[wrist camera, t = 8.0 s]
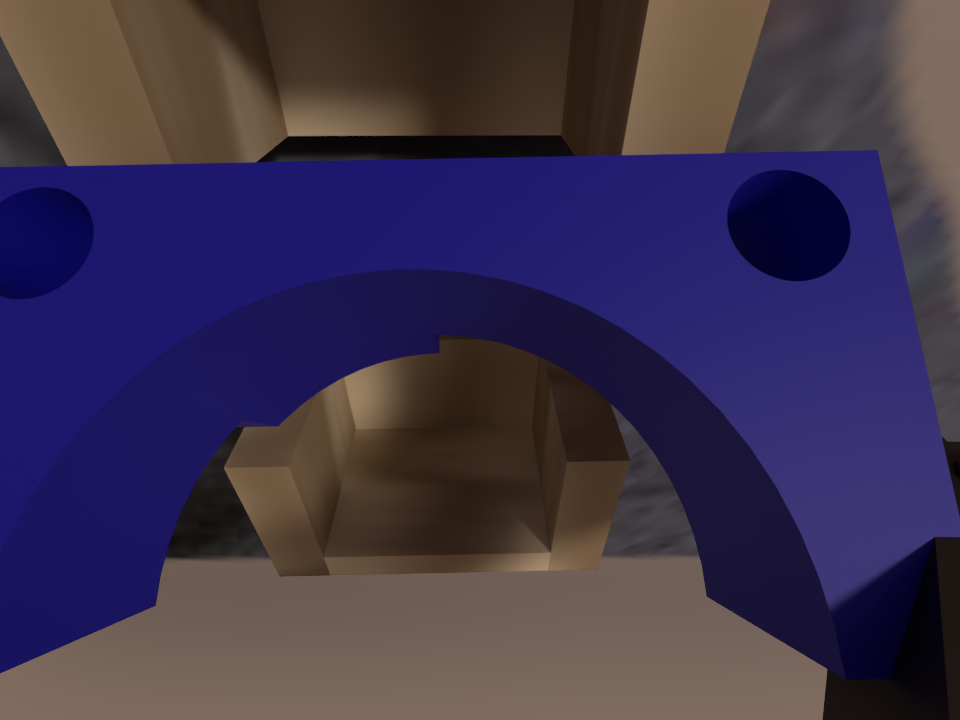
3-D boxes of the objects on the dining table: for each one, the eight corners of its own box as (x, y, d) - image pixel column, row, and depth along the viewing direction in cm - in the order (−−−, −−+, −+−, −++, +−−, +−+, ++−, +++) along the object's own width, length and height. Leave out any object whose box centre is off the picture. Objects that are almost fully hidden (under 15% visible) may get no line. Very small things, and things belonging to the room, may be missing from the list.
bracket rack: (326, 428, 19) (279, 576, 14) (158, -163, 9) (-196, -343, 4) (564, 425, 19) (597, 569, 14) (658, -159, 9) (868, -325, 4)
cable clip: (169, 292, 10) (131, 583, 9) (-60, 169, 6) (-194, 695, 5) (711, 282, 10) (748, 574, 9) (876, 150, 6) (996, 677, 5)
